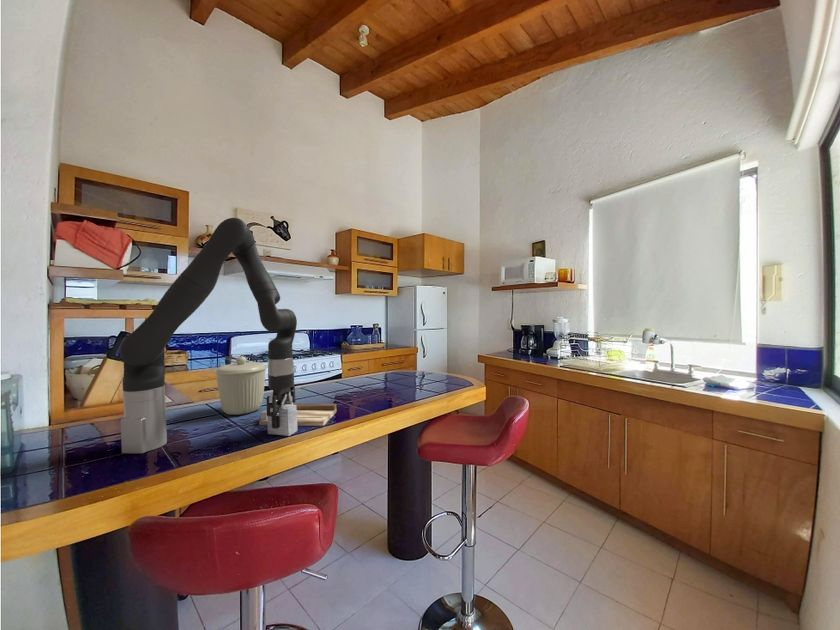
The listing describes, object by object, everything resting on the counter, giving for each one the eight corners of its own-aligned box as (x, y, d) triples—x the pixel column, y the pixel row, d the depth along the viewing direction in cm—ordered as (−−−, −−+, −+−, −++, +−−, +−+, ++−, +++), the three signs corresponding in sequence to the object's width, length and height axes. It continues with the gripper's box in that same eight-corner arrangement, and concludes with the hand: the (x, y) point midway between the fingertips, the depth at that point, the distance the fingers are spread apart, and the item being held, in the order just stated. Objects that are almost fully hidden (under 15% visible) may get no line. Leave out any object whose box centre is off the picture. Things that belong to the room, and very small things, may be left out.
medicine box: (297, 431, 104) (297, 404, 104) (288, 436, 100) (288, 408, 100) (277, 429, 107) (276, 402, 106) (267, 434, 102) (266, 407, 102)
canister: (219, 422, 113) (217, 362, 112) (211, 410, 127) (210, 356, 126) (274, 411, 124) (272, 356, 124) (262, 401, 138) (260, 351, 138)
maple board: (323, 425, 109) (323, 421, 109) (259, 425, 110) (259, 420, 110) (336, 412, 123) (336, 407, 123) (279, 411, 124) (279, 407, 124)
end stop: (266, 420, 111) (266, 412, 111) (260, 420, 111) (260, 412, 111) (280, 410, 121) (280, 403, 121) (275, 410, 121) (275, 403, 121)
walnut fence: (334, 410, 120) (334, 405, 120) (276, 410, 121) (275, 405, 121) (336, 408, 123) (336, 403, 123) (279, 407, 124) (279, 403, 124)
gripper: (280, 367, 110) (281, 415, 111) (257, 377, 96) (258, 431, 96) (302, 367, 110) (303, 415, 110) (281, 377, 95) (283, 431, 96)
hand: (282, 422), depth 103 cm, fingers open, 8 cm apart
